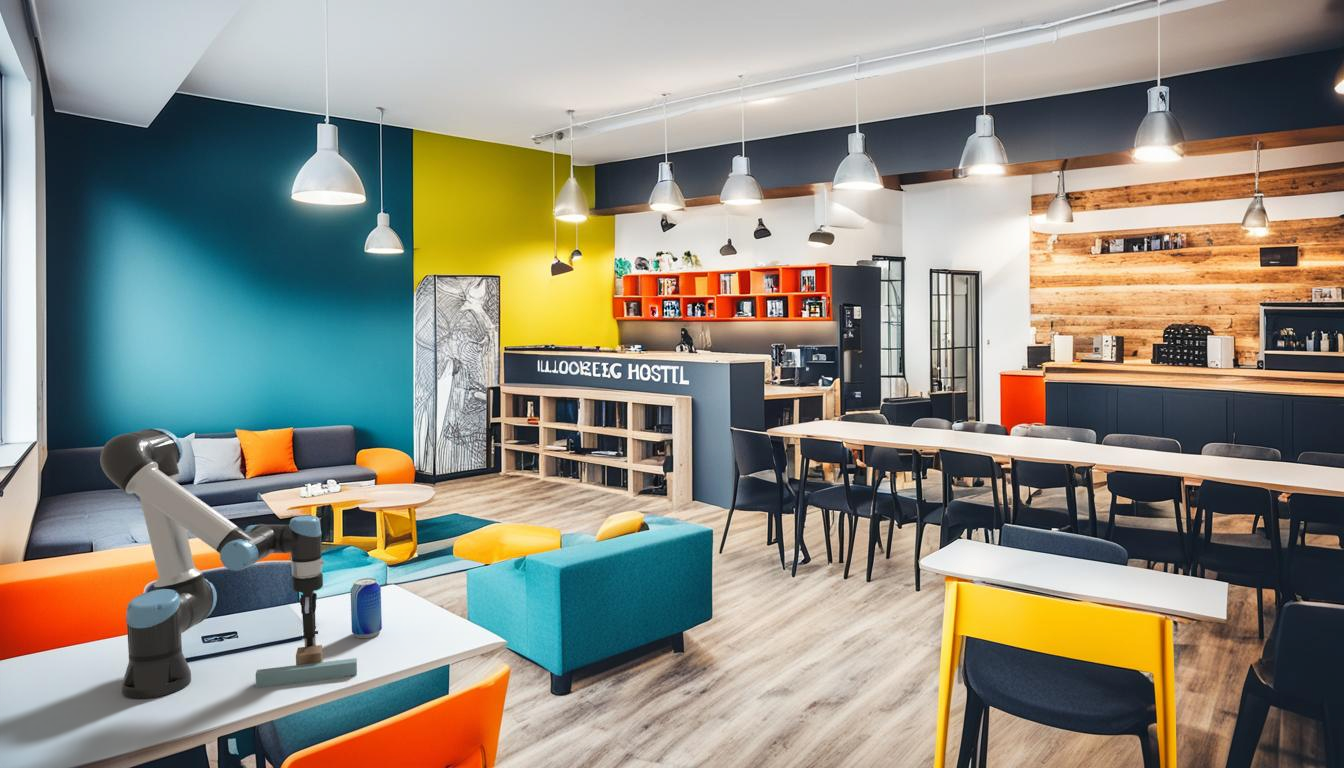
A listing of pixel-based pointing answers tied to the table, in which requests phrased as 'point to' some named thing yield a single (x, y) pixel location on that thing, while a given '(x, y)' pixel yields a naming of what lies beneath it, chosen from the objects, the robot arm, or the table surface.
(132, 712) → the table surface
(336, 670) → the board
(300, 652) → the block
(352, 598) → the beer can
